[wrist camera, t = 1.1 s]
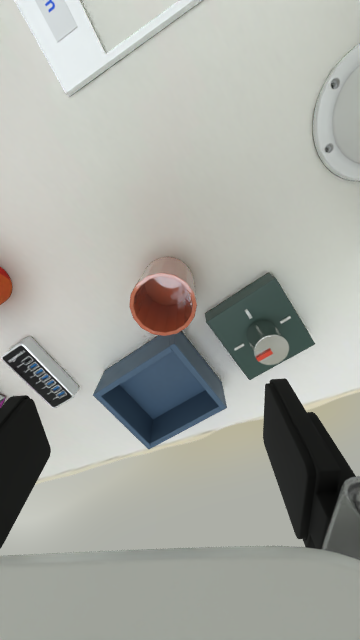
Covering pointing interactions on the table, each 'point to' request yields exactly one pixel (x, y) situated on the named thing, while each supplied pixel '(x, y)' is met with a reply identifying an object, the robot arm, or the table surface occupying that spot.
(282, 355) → the rotary dial knob
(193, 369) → the basin
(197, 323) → the table surface
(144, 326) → the cup
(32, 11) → the photo frame
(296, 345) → the green dial base
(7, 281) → the coffee cup
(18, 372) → the multiport hub
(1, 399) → the candy bar box
